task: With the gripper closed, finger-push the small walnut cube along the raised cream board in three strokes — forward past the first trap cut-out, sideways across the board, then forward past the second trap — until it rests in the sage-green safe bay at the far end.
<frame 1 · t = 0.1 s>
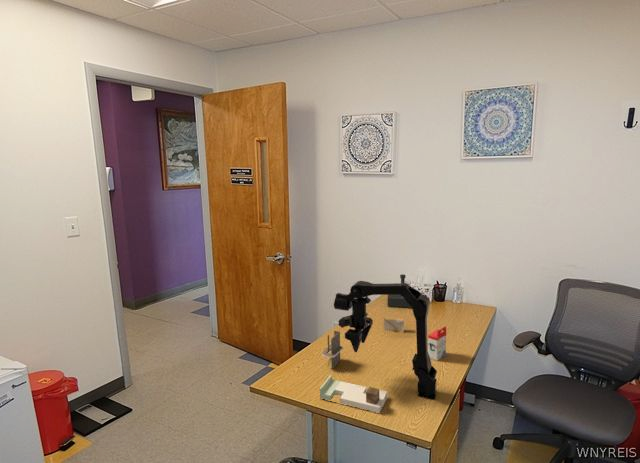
hand: (359, 347, 161), 15 cm above the table, fingers open, 9 cm apart
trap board: (353, 398, 150), on the table
architectural model: (332, 364, 178), on the table
walnut block: (372, 400, 144), point 2 cm above the table, touching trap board
dark post stand: (402, 304, 254), on the table
model: (393, 332, 212), on the table
ink box: (436, 356, 182), on the table
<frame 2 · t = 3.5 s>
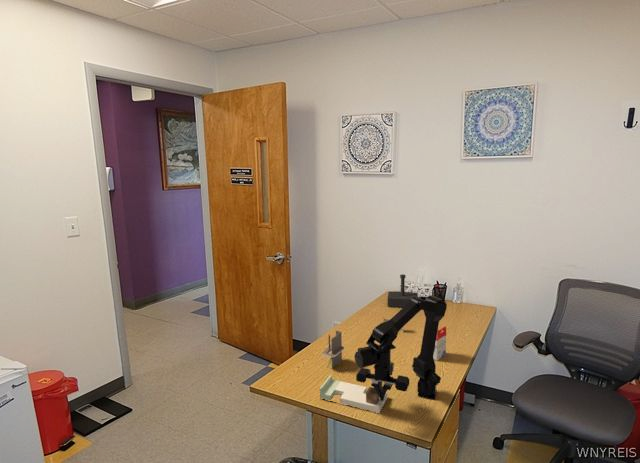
hand: (382, 400, 143), 4 cm above the table, fingers closed
walnut block: (372, 400, 144), point 3 cm above the table, touching gripper, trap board
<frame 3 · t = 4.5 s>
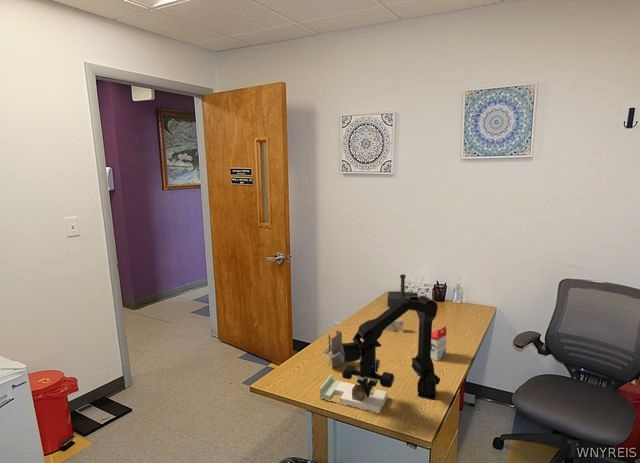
hand: (368, 396, 145), 4 cm above the table, fingers closed
walnut block: (358, 397, 147), point 3 cm above the table, touching gripper, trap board
everything else where it was.
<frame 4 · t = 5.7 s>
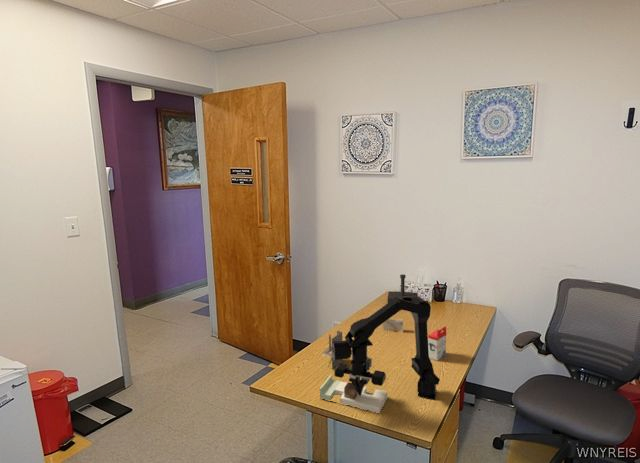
hand: (360, 394, 146), 4 cm above the table, fingers closed
walnut block: (351, 395, 148), point 2 cm above the table, touching gripper, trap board
everything else where it was.
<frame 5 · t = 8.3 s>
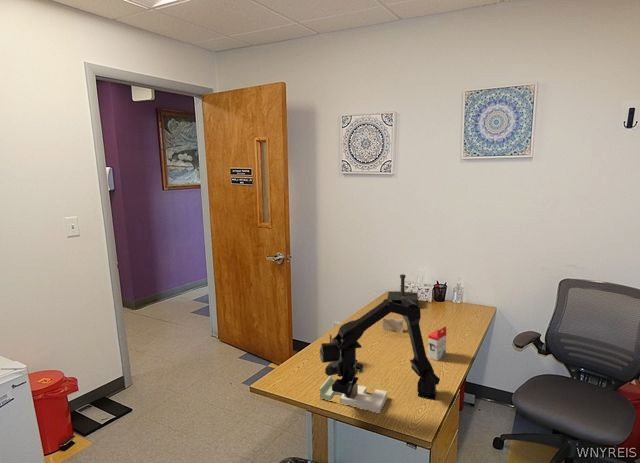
hand: (348, 397, 145), 4 cm above the table, fingers closed
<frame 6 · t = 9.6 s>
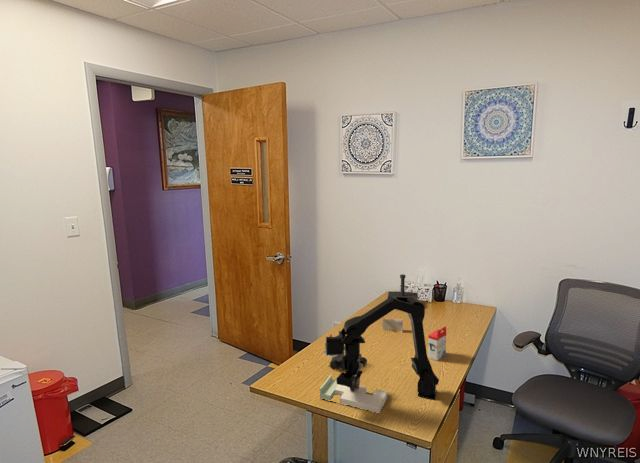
hand: (352, 390, 149), 4 cm above the table, fingers closed
walnut block: (353, 387, 152), point 3 cm above the table, tilted 28°, touching gripper, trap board
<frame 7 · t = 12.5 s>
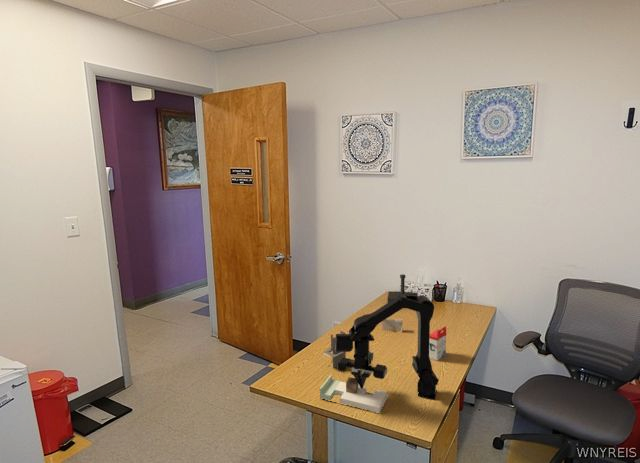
hand: (362, 387, 151), 4 cm above the table, fingers closed
walnut block: (352, 389, 152), point 3 cm above the table, touching gripper
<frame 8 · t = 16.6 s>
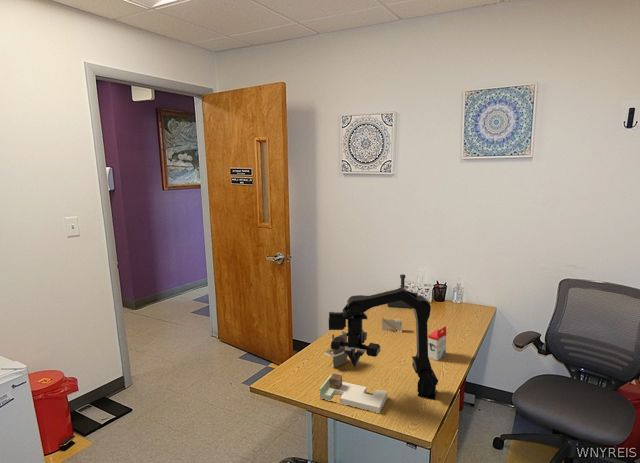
hand: (355, 366, 151), 12 cm above the table, fingers closed
walnut block: (335, 386, 155), point 2 cm above the table, touching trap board
at the end: walnut block inside the target area on the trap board (1.8 cm from its centre), point 2.5 cm above the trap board's base; walnut block tilted 0° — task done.
